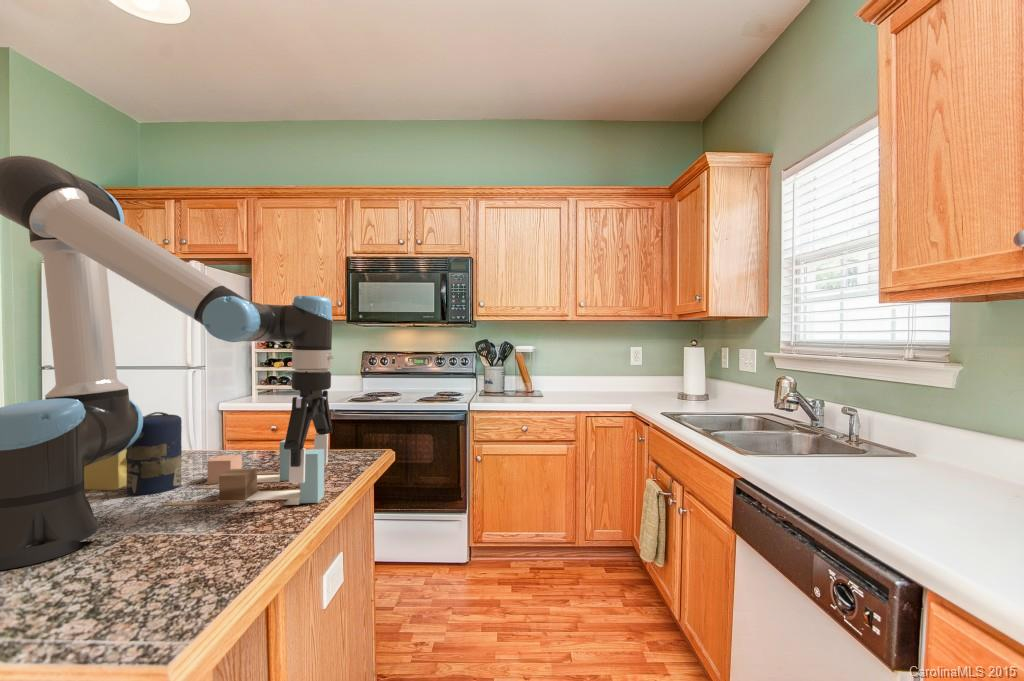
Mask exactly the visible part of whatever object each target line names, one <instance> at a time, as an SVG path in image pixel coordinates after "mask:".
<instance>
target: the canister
mask: <svg viewBox="0 0 1024 681" xmlns="http://www.w3.org/2000/svg"><path fill="white" fill-rule="evenodd" d="M142 416H143V415H142ZM182 420H183V419H182V417H181V416H179V415H177V414H169V413H167V412H164V411H163V412H162V411H161V412H160V411H155V412H151V413H149V414H147V415H144V416H143V427H142V430H141V433H140V435H139V437H138V438H137V439H136V441H135V442H134V443H133V444H132V445H131V446H129V447H128V448H127V451H126V459H127V471H126V472H127V485H126V494H127V495H129V496H134V497H135V496H136V497H139V496H150V495H157V494H161V493H166V492H170V491H172V490H176V489H177V488H180V487H181V486H182V458H183V456H182V455H183V454H182V450H183V448H182V447H183V446H182V432H183V431H182V428H183V427H182V426H183V425H182V423H183V422H182Z"/></svg>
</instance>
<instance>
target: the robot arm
mask: <svg viewBox="0 0 1024 681" xmlns="http://www.w3.org/2000/svg"><path fill="white" fill-rule="evenodd" d="M0 215H1V216H2V217H3V218H5V219H7V220H10V221H12V222H14V223H16V224H17V225H20V226H21V227H23V228H25V229H27V230H28V235H29V244H30V247H31V248H32V249H34V250H35V251H37V252H38V253H39V254H41V255H42V257H43V265H44V274H45V275H44V277H45V285H46V286H45V289H46V297H47V307H48V318H49V319H48V320H49V327H50V328H49V329H50V338H51V348H52V349H51V350H52V358H53V361H52V362H53V368H54V369H53V370H54V379H55V384H54V385H55V386H54V387H53V388H52V389H51V390H50V391H48V392H47V393H46V394H45V395H44V397H45V399H36V400H31V401H27V402H17V403H13V404H8V405H4V406H1V407H0V571H4V570H10V569H11V570H12V569H17V568H20V567H26V566H30V565H35V564H39V563H43V562H46V561H50V560H53V559H56V558H60V557H63V556H65V555H68V554H70V553H73V552H75V551H78V550H80V549H83V548H85V547H86V546H88V545H90V544H91V543H93V542H94V541H93V540H88V541H87V540H86V539H88V538H90V537H91V536H93V535H94V534H96V533H97V532H98V530H99V529H100V528H99V526H100V523H99V520H98V518H97V517H95V515H94V511H93V509H92V506H91V504H90V502H89V499H88V498H87V495H86V492H85V490H86V489H84V467H85V466H87V465H90V464H93V463H95V462H98V461H100V460H105V459H108V458H110V457H113V456H115V455H117V454H119V453H120V452H122V451H123V450H125V449H127V448H128V447H129V446H131V445H132V444H133V443H134V442H135V441H136V439H137V438H138V437H139V435H140V433H141V430H142V427H143V413H142V411H141V409H140V407H139V406H138V405H137V404H136V403H134V402H133V400H131V399H130V395H129V394H130V393H129V387H128V386H127V385H126V384H124V383H123V382H121V381H120V380H119V379H118V375H117V373H118V372H117V362H116V354H115V352H116V351H115V344H114V342H115V341H114V332H113V321H112V313H111V311H112V309H111V302H110V289H109V281H108V270H109V271H111V272H113V273H115V274H116V275H118V276H119V277H121V278H123V279H125V280H126V281H129V282H130V283H132V284H134V285H135V286H136V287H139V288H140V289H142V290H144V291H145V292H147V293H149V294H150V295H153V296H154V297H156V298H158V299H159V300H160V301H163V302H164V303H166V304H168V305H169V306H171V307H173V308H174V309H175V310H178V311H180V312H181V313H183V314H185V315H186V316H188V317H190V318H191V319H193V320H194V321H196V322H198V323H199V324H201V325H202V326H204V328H205V330H206V332H208V334H210V335H211V336H212V337H214V338H216V339H218V340H222V341H225V342H229V343H238V342H239V343H241V342H247V343H248V342H287V343H288V342H292V350H291V352H292V353H291V369H293V370H294V371H293V372H292V373H291V389H292V390H294V391H299V392H300V393H299V396H293V397H292V400H291V402H292V403H291V410H290V416H289V421H288V425H287V426H288V427H287V430H286V435H285V439H284V440H285V444H284V449H285V450H290V456H289V481H288V484H300V483H304V482H305V451H306V450H307V449H306V447H305V448H304V446H305V443H306V439H307V435H308V432H309V428H310V425H311V422H313V426H314V429H315V432H316V433H315V434H314V438H313V439H314V440H313V442H314V445H313V446H314V448H313V449H324V465H327V464H328V456H329V455H328V453H329V451H328V450H329V434H333V426H332V419H331V411H330V405H329V397H328V396H329V392H328V391H329V389H330V388H331V387H332V386H331V385H332V373H331V371H329V370H330V369H331V368H332V360H334V358H335V357H334V354H332V349H333V348H332V342H333V323H334V319H333V318H334V317H333V303H332V301H331V300H330V298H328V297H326V296H318V295H295V297H294V298H293V302H292V303H291V304H286V305H282V304H267V303H266V304H263V303H260V302H254V301H251V300H248V299H247V298H245V297H243V296H242V295H240V294H238V293H237V292H235V291H234V290H232V289H230V288H228V287H226V286H225V285H223V284H222V283H220V282H219V281H217V280H215V279H214V278H212V277H210V276H209V275H207V274H205V273H204V272H202V271H200V270H199V269H197V268H195V267H194V266H192V265H191V264H189V263H187V262H186V261H184V260H183V259H181V258H180V257H179V256H177V255H175V254H173V253H171V251H168V250H166V249H165V248H163V247H161V246H160V245H158V244H157V243H155V242H154V241H152V240H150V239H149V238H147V237H145V236H144V235H142V234H141V233H139V232H137V231H135V230H134V229H133V228H131V227H129V226H128V225H126V224H125V214H124V212H123V208H122V206H121V205H120V203H119V201H118V200H117V199H116V198H115V197H114V196H113V195H112V194H110V193H109V192H108V191H106V190H105V189H104V188H103V187H101V186H100V185H98V184H97V183H96V182H92V181H90V180H87V179H86V178H83V177H80V176H78V175H76V174H74V173H72V172H70V171H69V170H66V169H64V168H62V167H60V166H58V165H57V164H55V163H54V162H50V161H49V160H45V159H43V158H39V157H35V156H31V155H30V156H29V155H10V156H6V157H2V158H0ZM107 269H108V270H107ZM85 540H86V541H85Z"/></svg>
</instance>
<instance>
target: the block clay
mask: <svg viewBox="0 0 1024 681" xmlns="http://www.w3.org/2000/svg"><path fill="white" fill-rule="evenodd" d="M206 462H207V464H206V466H207V469H206V470H207V477H206V478H207V482H206V483H219V476H220V475H221V474H223V473H225V472H227V471H229V470H231V469H242V468H243V455H242V454H229V455H227V454H223V455H218V456H215V457H214V458H211V459H209V460H207V461H206Z"/></svg>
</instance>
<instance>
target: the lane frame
mask: <svg viewBox="0 0 1024 681" xmlns="http://www.w3.org/2000/svg"><path fill="white" fill-rule="evenodd" d="M258 475H280V471H266V472H265V471H263V472H258V471H257V476H258ZM263 487H264V484H257V489H258V488H263ZM217 489H218V490H219V485H215V486H214V485H210V486H196V487H194V488H193V490H217ZM239 503H241V501H217V500H215V501H191V502H190V501H188V502H165V503H162V507H176V506H177V507H178V506H181V507H182V506H207V505H209V506H210V505H238V504H239Z"/></svg>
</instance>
